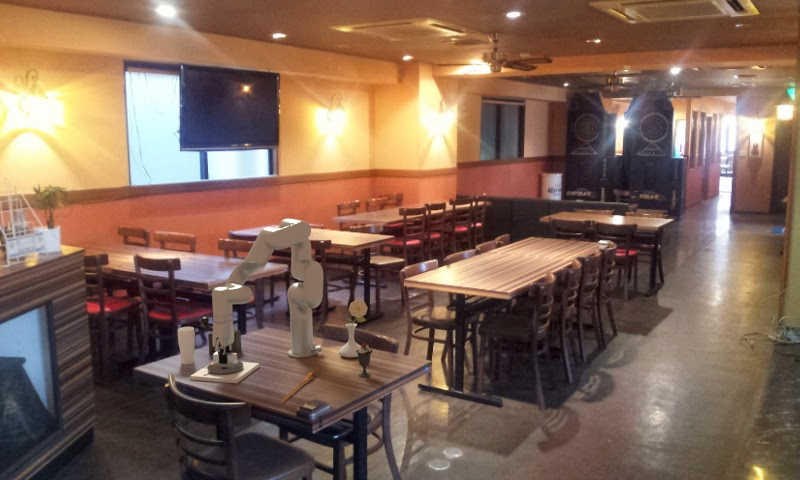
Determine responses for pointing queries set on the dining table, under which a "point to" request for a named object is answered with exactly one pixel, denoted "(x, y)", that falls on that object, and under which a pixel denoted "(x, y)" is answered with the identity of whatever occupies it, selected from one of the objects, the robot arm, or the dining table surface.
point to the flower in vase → (356, 310)
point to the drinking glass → (186, 344)
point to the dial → (227, 368)
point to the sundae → (364, 358)
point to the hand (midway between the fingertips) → (225, 361)
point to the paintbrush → (301, 384)
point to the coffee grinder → (235, 346)
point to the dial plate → (227, 378)
